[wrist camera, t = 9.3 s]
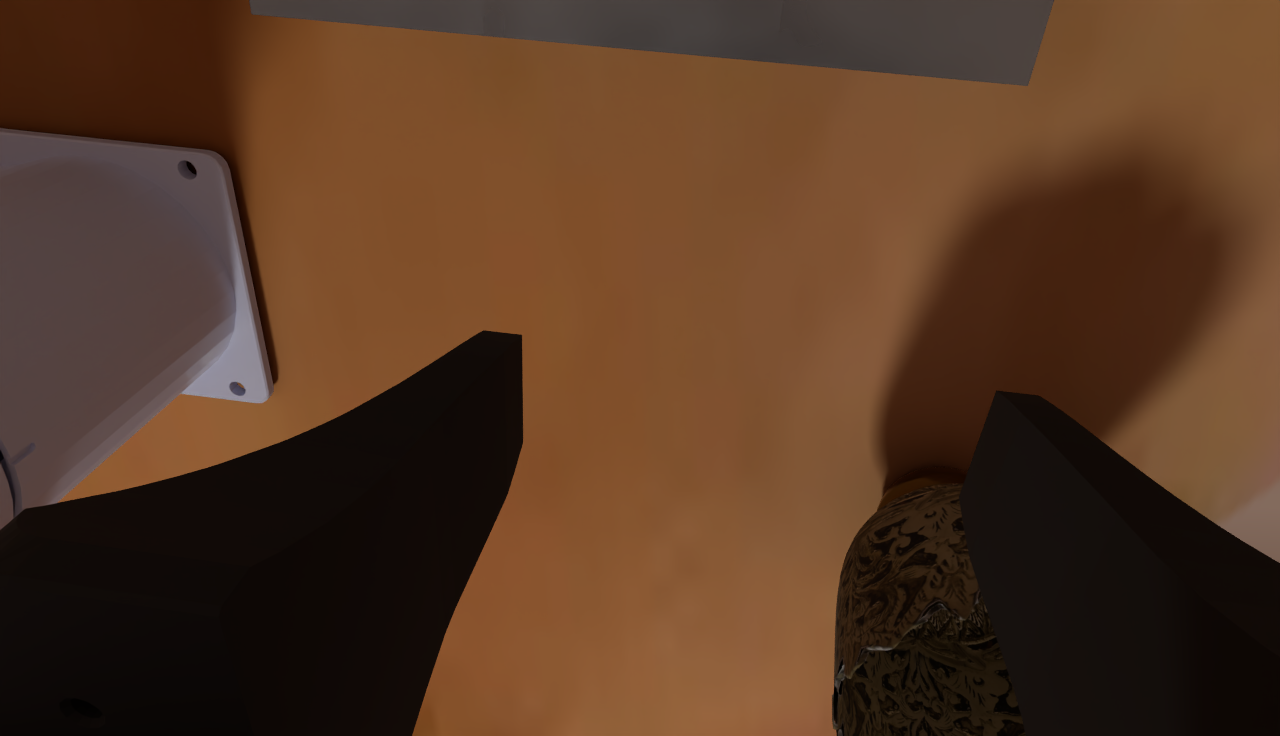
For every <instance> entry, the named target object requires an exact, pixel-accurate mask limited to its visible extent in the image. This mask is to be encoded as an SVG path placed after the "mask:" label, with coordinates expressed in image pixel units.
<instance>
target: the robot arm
mask: <svg viewBox="0 0 1280 736" xmlns="http://www.w3.org/2000/svg"><path fill="white" fill-rule="evenodd" d="M187 161H188V162H190V163H191V164H193V165H194V167H195V169H196V171H197V175H195V174H193V173H192V172H191V171H190V170H189V169H188V167H187V165H186V164H187ZM237 382H238V383H241V384H242V385H243V386H244V388H245V389H244V388H241V387H240V386H239V385H238V384H237ZM273 392H274V386H273V381H272V376H271V371H270V366H269V361H268V356H267V351H266V346H265V341H264V336H263V332H262V327H261V322H260V317H259V312H258V307H257V302H256V297H255V292H254V287H253V282H252V277H251V272H250V267H249V262H248V257H247V252H246V247H245V242H244V237H243V232H242V227H241V222H240V218H239V213H238V208H237V203H236V198H235V193H234V188H233V183H232V178H231V173H230V169H229V166H228V164H227V162H226V161H225V160H224V158H223V157H222V156H220V155H219V154H218V153H216V152H214V151H210V150H204V149H195V148H185V147H175V146H166V145H156V144H147V143H137V142H128V141H118V140H108V139H99V138H89V137H80V136H70V135H61V134H51V133H42V132H32V131H22V130H13V129H3V128H0V736H412V734H413V731H414V727H415V724H416V721H417V718H418V715H419V712H420V708H421V705H422V702H423V699H424V696H425V693H426V689H427V686H428V683H429V680H430V677H431V674H432V671H433V668H434V665H435V662H436V659H437V656H438V653H439V650H440V648H441V645H442V642H443V639H444V636H445V633H446V630H447V628H448V625H449V623H450V620H451V618H452V615H453V613H454V610H455V608H456V606H457V604H458V601H459V599H460V597H461V595H462V593H463V591H464V588H465V586H466V584H467V582H468V580H469V578H470V575H471V573H472V571H473V569H474V567H475V565H476V562H477V560H478V558H479V556H480V554H481V552H482V549H483V547H484V545H485V543H486V541H487V539H488V536H489V534H490V532H491V530H492V528H493V526H494V523H495V521H496V519H497V517H498V514H499V512H500V510H501V508H502V506H503V503H504V501H505V499H506V497H507V494H508V491H509V488H510V485H511V481H512V478H513V475H514V472H515V468H516V465H517V461H518V458H519V454H520V451H521V448H522V444H523V387H522V335H518V334H509V333H501V332H492V331H482V332H480V333H478V334H476V335H475V336H473V337H471V338H470V339H468V340H467V341H465V342H463V343H462V344H460V345H459V346H457V347H456V348H454V349H453V350H451V351H450V352H448V353H447V354H445V355H444V356H442V357H440V358H439V359H437V360H436V361H434V362H433V363H431V364H429V365H428V366H426V367H425V368H423V369H422V370H420V371H418V372H417V373H415V374H414V375H412V376H410V377H409V378H407V379H406V380H404V381H402V382H401V383H399V384H397V385H396V386H394V387H392V388H390V389H388V390H387V391H385V392H383V393H381V394H379V395H378V396H376V397H374V398H372V399H371V400H369V401H367V402H365V403H363V404H362V405H360V406H358V407H356V408H355V409H353V410H351V411H349V412H347V413H345V414H343V415H341V416H339V417H337V418H335V419H333V420H331V421H329V422H326V423H324V424H322V425H320V426H318V427H315V428H313V429H311V430H308V431H306V432H304V433H302V434H299V435H297V436H295V437H292V438H290V439H288V440H285V441H283V442H280V443H277V444H274V445H272V446H269V447H266V448H263V449H260V450H258V451H255V452H252V453H249V454H246V455H243V456H241V457H238V458H235V459H232V460H229V461H227V462H224V463H221V464H218V465H215V466H211V467H208V468H205V469H201V470H198V471H194V472H191V473H187V474H184V475H181V476H177V477H173V478H169V479H165V480H161V481H158V482H154V483H150V484H146V485H142V486H138V487H133V488H129V489H125V490H121V491H116V492H111V493H106V494H101V495H96V496H90V497H85V498H80V499H75V500H70V501H65V502H60V503H57V502H58V501H60V500H61V499H62V498H63V497H64V496H65V495H66V494H67V493H69V492H70V491H71V490H72V489H73V488H74V487H75V486H76V485H78V484H79V483H80V482H81V481H82V480H83V479H84V478H86V477H87V476H88V475H89V474H90V473H91V472H92V471H93V470H95V469H96V468H97V467H98V466H99V465H100V464H101V463H103V462H104V461H105V460H106V459H107V458H108V457H109V456H110V455H112V454H113V453H114V452H115V451H116V450H117V449H118V448H119V447H121V446H122V445H123V444H124V443H125V442H126V441H127V440H129V439H130V438H131V437H132V436H133V435H134V434H135V433H136V432H138V431H139V430H140V429H141V428H142V427H143V426H144V425H145V424H147V423H148V422H149V421H150V420H151V419H152V418H153V417H155V416H156V415H157V414H158V413H159V412H160V411H161V410H162V409H164V408H165V407H166V406H167V405H168V404H169V403H170V402H171V401H173V400H174V399H175V398H176V397H177V396H178V395H179V394H188V395H196V396H204V397H212V398H220V399H228V400H235V401H243V402H251V403H263V402H265V401H266V400H267V399H268V398H269V397H270V396H271V395H272V393H273ZM959 501H960V508H961V514H962V521H963V527H964V533H965V538H966V543H967V548H968V554H969V557H970V560H971V564H972V567H973V570H974V573H975V576H976V579H977V582H978V585H979V588H980V591H981V594H982V597H983V600H984V603H985V606H986V609H987V612H988V615H989V618H990V621H991V624H992V627H993V630H994V633H995V635H996V638H997V641H998V644H999V647H1000V650H1001V653H1002V656H1003V659H1004V662H1005V665H1006V668H1007V671H1008V674H1009V677H1010V679H1011V682H1012V685H1013V689H1014V692H1015V696H1016V699H1017V703H1018V706H1019V710H1020V713H1021V717H1022V721H1023V726H1024V730H1025V735H1026V736H1280V563H1278V562H1277V561H1275V560H1273V559H1272V558H1270V557H1268V556H1267V555H1265V554H1263V553H1262V552H1260V551H1258V550H1257V549H1255V548H1253V547H1251V546H1250V545H1248V544H1246V543H1245V542H1243V541H1241V540H1240V539H1238V538H1237V537H1235V536H1234V535H1232V534H1230V533H1229V532H1227V531H1226V530H1224V529H1223V528H1221V527H1220V526H1218V525H1216V524H1215V523H1213V522H1212V521H1211V520H1209V519H1208V518H1206V517H1205V516H1203V515H1202V514H1200V513H1199V512H1197V511H1196V510H1195V509H1193V508H1192V507H1190V506H1189V505H1187V504H1186V503H1184V502H1183V501H1181V500H1180V499H1178V498H1177V497H1176V496H1174V495H1173V494H1171V493H1170V492H1169V491H1167V490H1166V489H1164V488H1163V487H1162V486H1160V485H1159V484H1158V483H1156V482H1155V481H1153V480H1152V479H1151V478H1149V477H1148V476H1147V475H1145V474H1144V473H1143V472H1141V471H1140V470H1139V469H1137V468H1136V467H1135V466H1133V465H1132V464H1131V463H1129V462H1128V461H1127V460H1126V459H1124V458H1123V457H1122V456H1120V455H1119V454H1118V453H1116V452H1115V451H1114V450H1112V449H1111V448H1110V447H1109V446H1107V445H1106V444H1105V443H1103V442H1102V441H1101V440H1100V439H1098V438H1097V437H1096V436H1094V435H1093V434H1092V433H1090V432H1089V431H1088V430H1087V429H1085V428H1084V427H1083V426H1081V425H1080V424H1079V423H1077V422H1076V421H1075V420H1073V419H1072V418H1071V417H1069V416H1068V415H1067V414H1065V413H1064V412H1063V411H1061V410H1060V409H1058V408H1057V407H1056V406H1054V405H1053V404H1051V403H1050V402H1048V401H1047V400H1045V399H1043V398H1042V397H1040V396H1037V395H1029V394H1020V393H1012V392H1003V391H996V393H995V396H994V399H993V402H992V405H991V407H990V410H989V413H988V416H987V419H986V422H985V424H984V427H983V430H982V433H981V436H980V439H979V441H978V444H977V447H976V450H975V453H974V456H973V458H972V461H971V464H970V467H969V470H968V472H967V475H966V478H965V481H964V484H963V487H962V489H961V492H960V495H959Z"/></svg>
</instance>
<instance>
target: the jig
mask: <svg viewBox="0 0 1280 736" xmlns="http://www.w3.org/2000/svg"><path fill="white" fill-rule="evenodd" d="M249 2H250V8H251V13H252V14H254V15H265V16H276V17H287V18H298V19H308V20H319V21H330V22H341V23H352V24H363V25H373V26H384V27H395V28H406V29H417V30H428V31H438V32H449V33H460V34H471V35H482V36H493V37H503V38H514V39H525V40H536V41H547V42H558V43H568V44H579V45H590V46H601V47H612V48H623V49H633V50H644V51H655V52H666V53H677V54H688V55H698V56H709V57H720V58H731V59H742V60H753V61H763V62H774V63H785V64H796V65H807V66H818V67H828V68H839V69H850V70H861V71H872V72H883V73H893V74H904V75H915V76H926V77H937V78H948V79H958V80H969V81H980V82H991V83H1002V84H1013V85H1023V86H1028V84H1029V80H1030V77H1031V74H1032V70H1033V67H1034V64H1035V61H1036V57H1037V54H1038V51H1039V48H1040V44H1041V41H1042V38H1043V35H1044V31H1045V28H1046V25H1047V21H1048V18H1049V15H1050V12H1051V8H1052V5H1053V2H1054V0H249Z"/></svg>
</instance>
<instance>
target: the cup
mask: <svg viewBox="0 0 1280 736" xmlns="http://www.w3.org/2000/svg"><path fill="white" fill-rule="evenodd" d="M966 475H967V472H965V471H962V470H959V469H955V468H950V467H929V468H923V469H919V470H916V471H913V472H911V473H909V474H906V475H905V476H903V477H901V478H900V479H898V480H897V481H896V482H894V483H893V484H892V485H891V486H890V487H889V489H888V490H887V491H886V493H885V494H884V496H883V497H882V499H881V501H880V504H879V506H878V509H877V512H876V513H875V514H874V515H873V516H872V517H871V518H870V519H869V520H868V521H867V522H866V523H865V524H864V525H863V526H862V528H861V529H860V530H859V532H858V533H857V535H856V536H855V538H854V540H853V542H852V544H851V546H850V548H849V550H848V552H847V554H846V557H845V560H844V563H843V567H842V571H841V575H840V582H839V588H838V596H837V607H836V626H835V663H834V694H833V695H832V722H833V729H836V732H837V736H1026V735H1025V730H1024V726H1023V721H1022V717H1021V713H1020V710H1019V706H1018V703H1017V699H1016V696H1015V692H1014V689H1013V685H1012V682H1011V679H1010V677H1009V674H1008V671H1007V668H1006V665H1005V662H1004V659H1003V656H1002V653H1001V650H1000V647H999V644H998V641H997V638H996V635H995V633H994V630H993V627H992V624H991V621H990V618H989V615H988V612H987V609H986V606H985V603H984V600H983V597H982V594H981V591H980V588H979V585H978V582H977V579H976V576H975V573H974V570H973V567H972V564H971V560H970V557H969V554H968V548H967V543H966V538H965V533H964V527H963V521H962V514H961V508H960V501H959V495H960V492H961V489H962V487H963V484H964V481H965V478H966Z"/></svg>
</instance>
